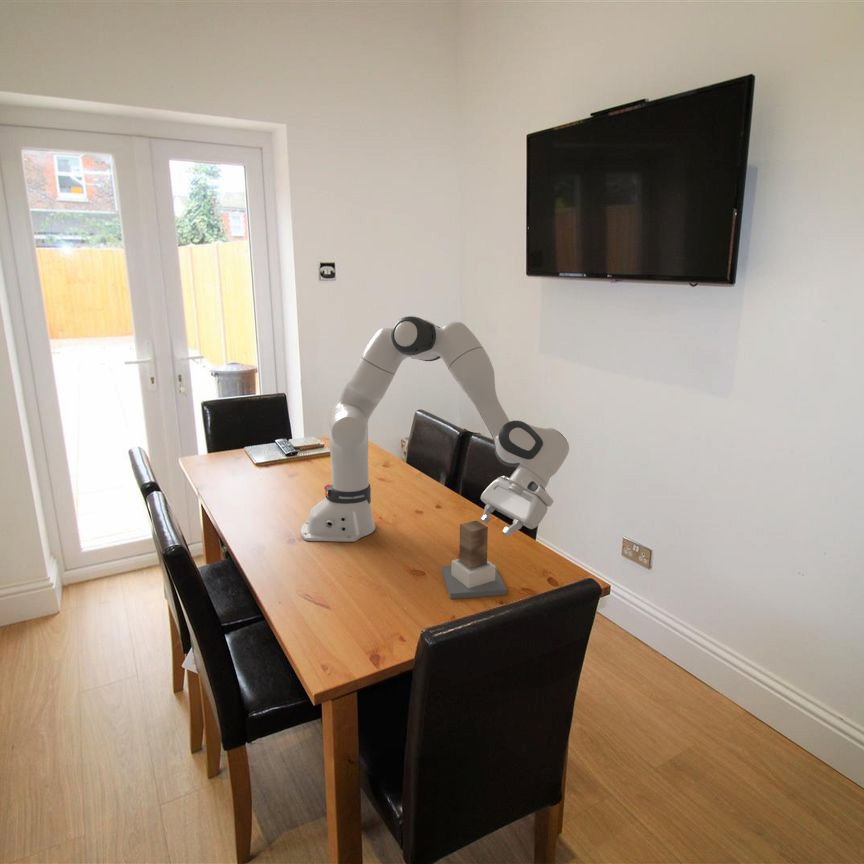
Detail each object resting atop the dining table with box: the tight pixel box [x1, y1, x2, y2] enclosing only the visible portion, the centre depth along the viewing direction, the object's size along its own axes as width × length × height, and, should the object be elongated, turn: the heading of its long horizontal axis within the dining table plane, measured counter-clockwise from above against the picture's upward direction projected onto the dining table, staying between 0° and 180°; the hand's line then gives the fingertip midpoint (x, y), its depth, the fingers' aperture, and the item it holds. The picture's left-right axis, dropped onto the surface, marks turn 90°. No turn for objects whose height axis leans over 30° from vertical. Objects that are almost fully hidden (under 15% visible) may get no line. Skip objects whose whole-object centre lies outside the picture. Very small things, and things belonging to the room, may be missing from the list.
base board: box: [441, 558, 508, 600], centre depth 156 cm, size 14×14×6 cm
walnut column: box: [458, 519, 489, 569], centre depth 154 cm, size 5×5×10 cm
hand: (493, 528), depth 156 cm, fingers open, 8 cm apart
